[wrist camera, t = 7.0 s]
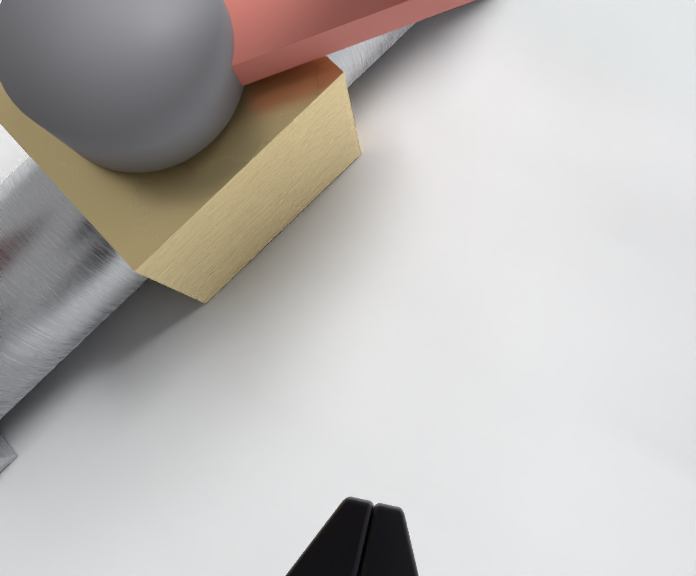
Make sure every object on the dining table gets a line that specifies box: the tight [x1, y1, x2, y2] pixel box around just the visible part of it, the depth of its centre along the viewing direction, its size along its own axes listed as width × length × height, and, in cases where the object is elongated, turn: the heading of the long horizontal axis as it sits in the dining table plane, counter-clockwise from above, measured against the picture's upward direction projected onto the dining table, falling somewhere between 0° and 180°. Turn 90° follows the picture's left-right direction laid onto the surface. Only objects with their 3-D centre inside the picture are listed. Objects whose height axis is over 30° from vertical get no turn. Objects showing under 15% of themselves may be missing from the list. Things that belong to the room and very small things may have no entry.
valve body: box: [0, 22, 416, 472], centre depth 16 cm, size 22×6×5 cm, turn 134°
